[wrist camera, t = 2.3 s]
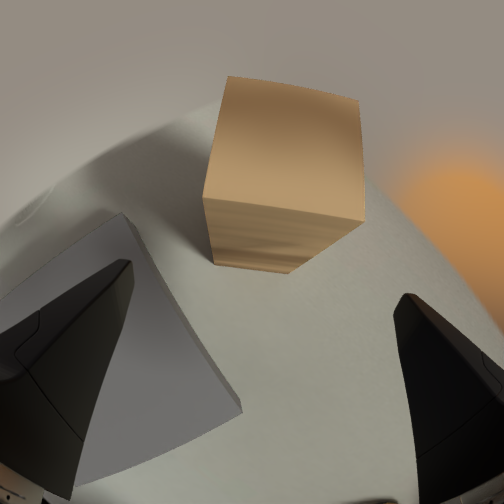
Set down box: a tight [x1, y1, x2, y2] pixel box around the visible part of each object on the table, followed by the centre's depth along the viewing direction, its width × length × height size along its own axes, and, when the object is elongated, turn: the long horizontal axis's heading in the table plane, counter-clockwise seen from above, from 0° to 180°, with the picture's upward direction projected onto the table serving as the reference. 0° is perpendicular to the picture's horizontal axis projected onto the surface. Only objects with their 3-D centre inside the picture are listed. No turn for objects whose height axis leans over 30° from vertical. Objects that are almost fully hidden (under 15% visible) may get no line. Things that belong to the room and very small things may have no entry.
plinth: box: [0, 212, 243, 487], centre depth 17 cm, size 14×14×3 cm
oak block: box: [202, 76, 365, 274], centre depth 15 cm, size 5×5×12 cm
